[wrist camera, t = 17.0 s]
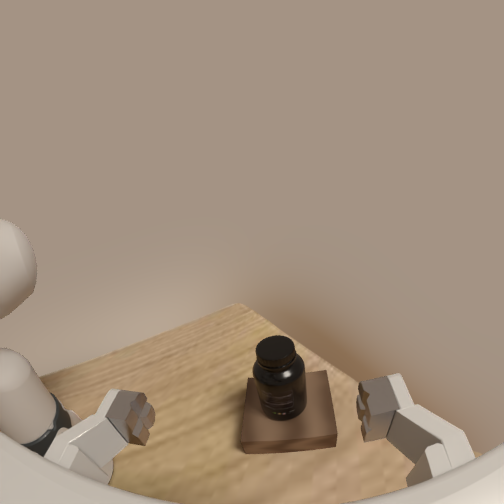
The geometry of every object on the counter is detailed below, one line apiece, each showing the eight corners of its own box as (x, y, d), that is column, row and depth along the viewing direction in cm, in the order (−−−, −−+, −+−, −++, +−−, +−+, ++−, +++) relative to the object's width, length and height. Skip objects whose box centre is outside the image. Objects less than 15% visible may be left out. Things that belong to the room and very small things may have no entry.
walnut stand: (245, 453, 33) (240, 441, 31) (251, 392, 45) (248, 377, 44) (335, 446, 31) (337, 433, 30) (326, 385, 43) (326, 370, 42)
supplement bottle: (265, 387, 41) (253, 329, 37) (308, 388, 39) (305, 328, 35) (257, 421, 34) (241, 364, 30) (305, 423, 33) (301, 365, 29)
